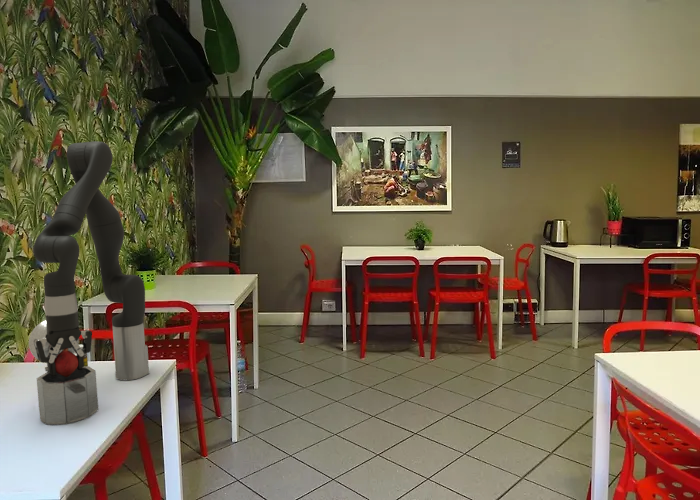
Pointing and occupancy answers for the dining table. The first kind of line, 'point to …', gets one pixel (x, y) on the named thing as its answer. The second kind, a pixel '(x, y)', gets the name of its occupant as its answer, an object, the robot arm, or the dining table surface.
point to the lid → (41, 333)
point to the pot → (67, 396)
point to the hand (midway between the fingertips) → (66, 372)
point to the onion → (66, 363)
